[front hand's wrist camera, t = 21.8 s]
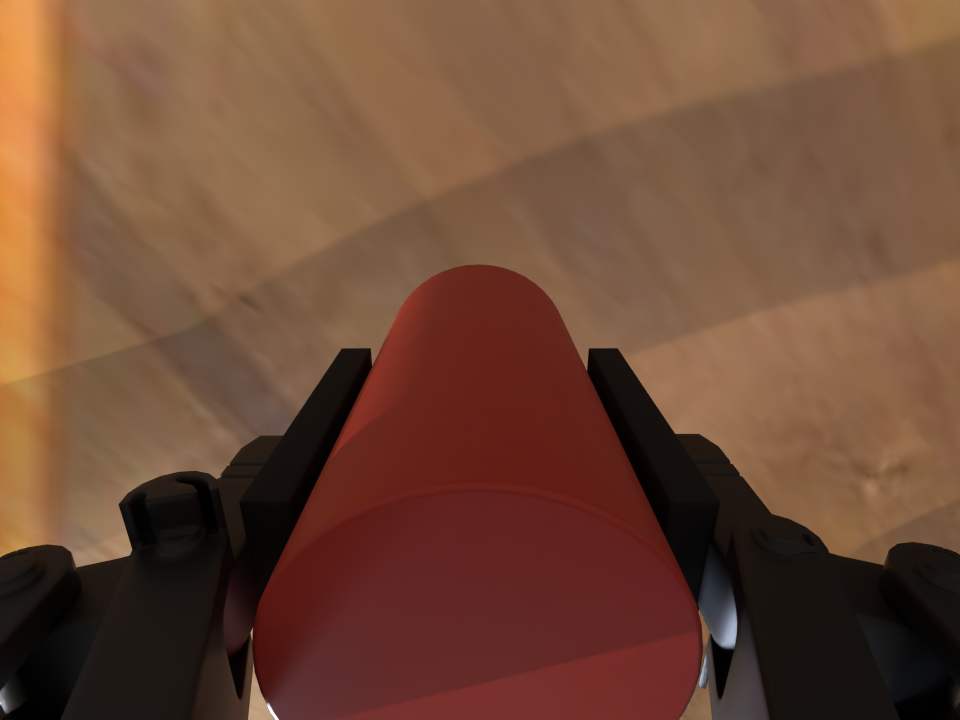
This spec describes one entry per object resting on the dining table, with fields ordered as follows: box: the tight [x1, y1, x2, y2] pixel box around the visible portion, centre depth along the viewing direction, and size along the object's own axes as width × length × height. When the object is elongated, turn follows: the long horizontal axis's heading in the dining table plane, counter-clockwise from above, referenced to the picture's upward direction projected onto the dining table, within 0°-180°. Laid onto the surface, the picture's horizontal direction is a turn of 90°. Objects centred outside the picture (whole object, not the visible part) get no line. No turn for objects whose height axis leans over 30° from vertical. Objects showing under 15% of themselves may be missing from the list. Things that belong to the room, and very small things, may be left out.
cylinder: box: [252, 265, 703, 720], centre depth 12 cm, size 6×6×12 cm
